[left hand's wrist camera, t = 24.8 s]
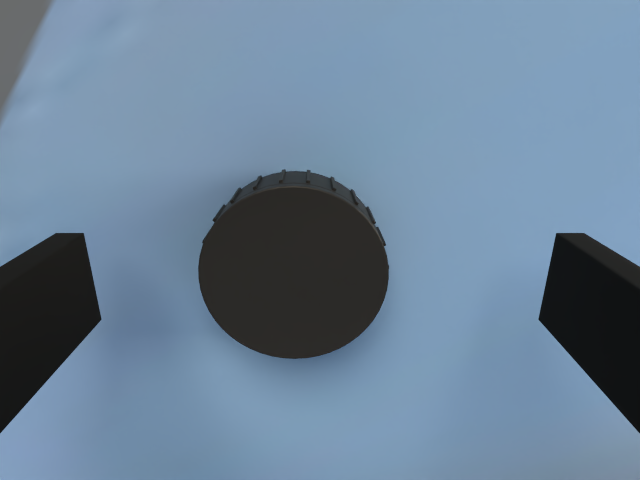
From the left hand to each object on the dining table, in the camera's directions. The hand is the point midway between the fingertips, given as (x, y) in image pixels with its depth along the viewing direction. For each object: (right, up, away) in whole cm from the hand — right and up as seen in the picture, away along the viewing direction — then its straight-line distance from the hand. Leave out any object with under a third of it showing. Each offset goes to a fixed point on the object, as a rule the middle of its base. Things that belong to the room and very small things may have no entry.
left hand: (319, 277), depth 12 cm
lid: (-1, 0, +1) cm, 1 cm away
